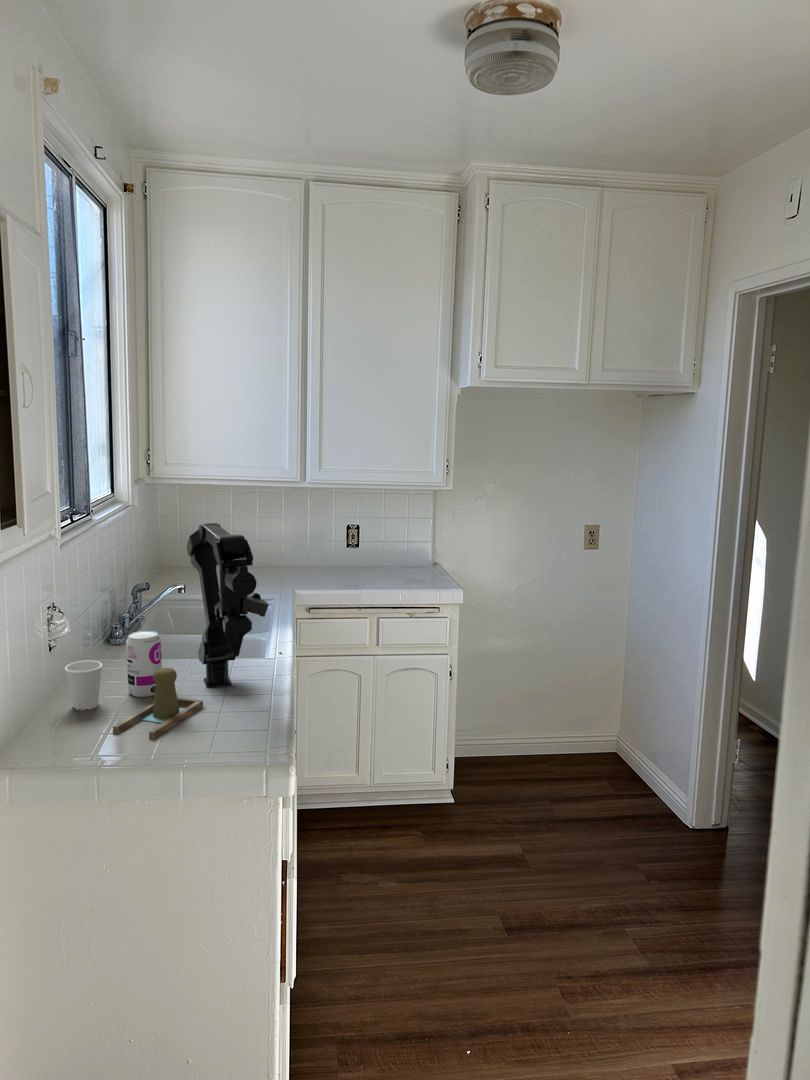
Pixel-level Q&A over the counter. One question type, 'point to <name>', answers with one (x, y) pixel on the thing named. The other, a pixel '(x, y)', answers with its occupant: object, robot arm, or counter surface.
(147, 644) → the supplement can
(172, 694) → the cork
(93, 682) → the dixie cup
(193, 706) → the rail track
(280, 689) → the counter surface
